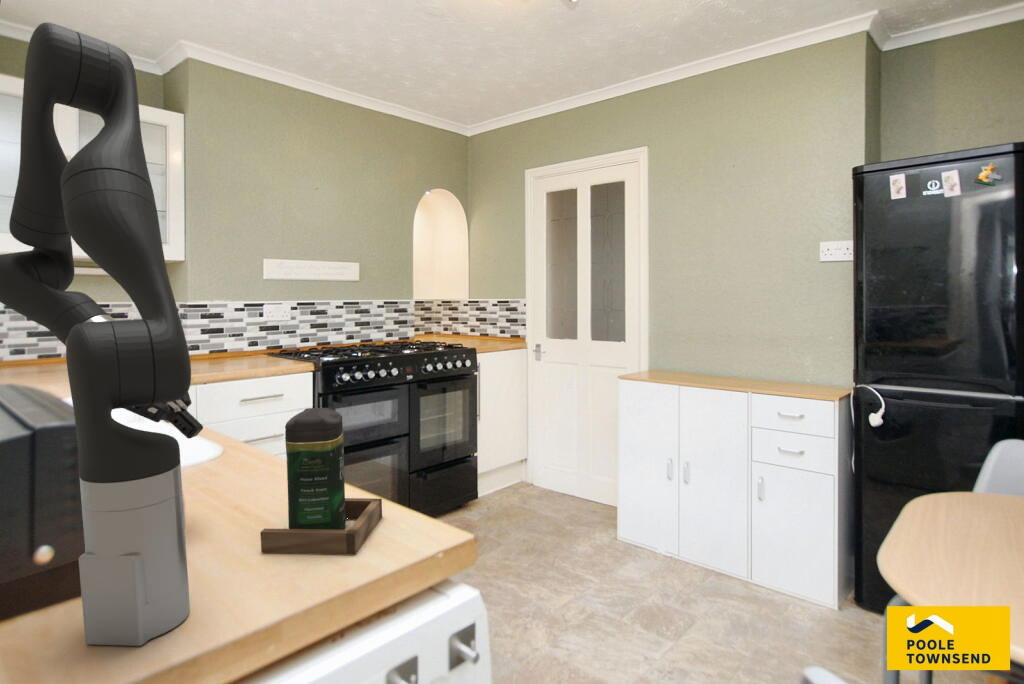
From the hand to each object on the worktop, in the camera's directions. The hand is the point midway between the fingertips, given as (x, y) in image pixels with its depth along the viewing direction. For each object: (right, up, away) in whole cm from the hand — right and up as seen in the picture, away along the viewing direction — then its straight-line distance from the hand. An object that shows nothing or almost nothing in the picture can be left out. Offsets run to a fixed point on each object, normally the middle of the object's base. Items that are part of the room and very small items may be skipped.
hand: (196, 433), depth 89 cm
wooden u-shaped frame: (+18, -15, 0) cm, 24 cm away
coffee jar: (+18, -15, +1) cm, 23 cm away
